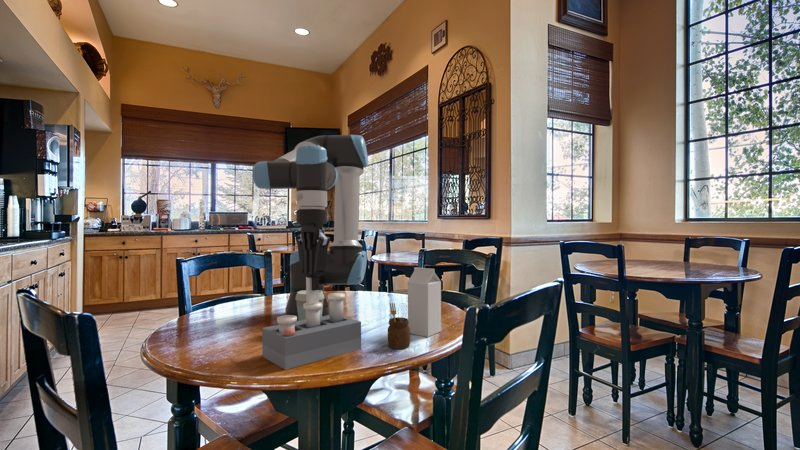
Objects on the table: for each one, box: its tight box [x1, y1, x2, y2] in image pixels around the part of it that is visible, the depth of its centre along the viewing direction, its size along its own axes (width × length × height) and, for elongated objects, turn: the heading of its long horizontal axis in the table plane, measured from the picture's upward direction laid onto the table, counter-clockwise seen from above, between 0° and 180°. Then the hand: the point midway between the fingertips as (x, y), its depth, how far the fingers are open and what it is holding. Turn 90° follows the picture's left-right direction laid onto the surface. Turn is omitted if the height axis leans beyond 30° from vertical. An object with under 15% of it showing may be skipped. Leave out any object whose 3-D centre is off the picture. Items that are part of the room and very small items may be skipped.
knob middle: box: [303, 302, 322, 329], centre depth 100 cm, size 5×5×7 cm
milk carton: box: [407, 266, 442, 338], centre depth 118 cm, size 7×7×19 cm
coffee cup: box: [295, 290, 325, 321], centre depth 119 cm, size 8×8×12 cm
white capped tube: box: [276, 315, 298, 334], centre depth 96 cm, size 5×5×7 cm
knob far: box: [326, 292, 346, 323], centre depth 105 cm, size 5×5×7 cm
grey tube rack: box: [261, 314, 362, 371], centre depth 100 cm, size 12×21×8 cm, turn 133°
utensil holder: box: [387, 302, 411, 350], centre depth 105 cm, size 6×6×12 cm
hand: (312, 302), depth 100 cm, fingers closed
